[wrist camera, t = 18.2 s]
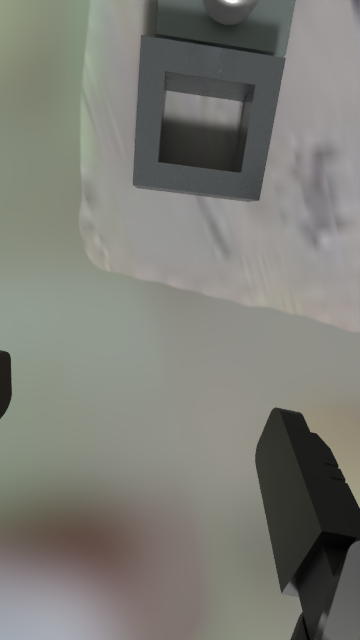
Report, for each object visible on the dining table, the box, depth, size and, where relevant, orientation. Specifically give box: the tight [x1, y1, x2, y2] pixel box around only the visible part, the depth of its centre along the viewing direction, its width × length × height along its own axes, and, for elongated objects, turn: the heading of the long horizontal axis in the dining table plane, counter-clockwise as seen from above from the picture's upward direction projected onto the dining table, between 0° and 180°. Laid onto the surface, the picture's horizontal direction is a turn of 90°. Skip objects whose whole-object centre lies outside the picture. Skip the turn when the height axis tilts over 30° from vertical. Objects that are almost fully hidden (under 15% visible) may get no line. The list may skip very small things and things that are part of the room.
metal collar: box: [133, 35, 285, 202], centre depth 34 cm, size 14×13×5 cm
